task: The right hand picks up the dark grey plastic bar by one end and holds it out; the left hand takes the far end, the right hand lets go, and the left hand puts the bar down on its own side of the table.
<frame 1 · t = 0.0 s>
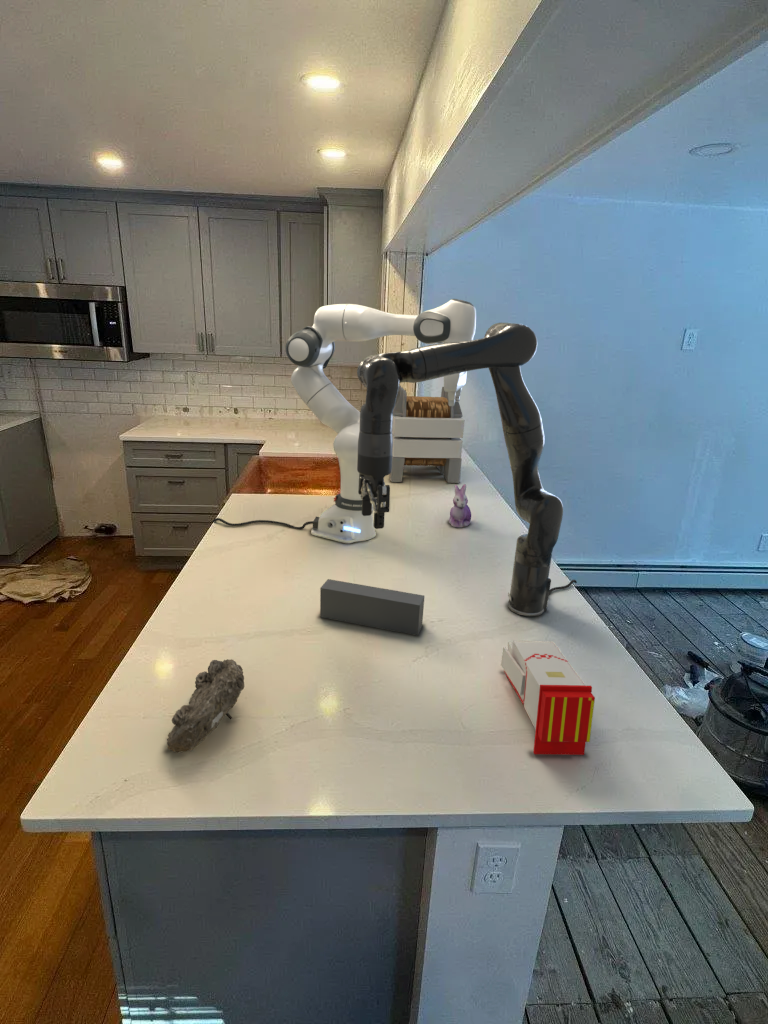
left hand: (454, 403, 174), 48 cm above the counter, tool pointing down, fingers open, 8 cm apart
right hand: (372, 521, 128), 29 cm above the counter, tool pointing down, fingers open, 8 cm apart
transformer: (419, 473, 275), on the counter
figurine character: (366, 499, 235), on the counter
figurine: (459, 523, 212), on the counter
bar: (370, 621, 144), on the counter
fossil: (212, 717, 108), on the counter
toy: (537, 705, 115), on the counter
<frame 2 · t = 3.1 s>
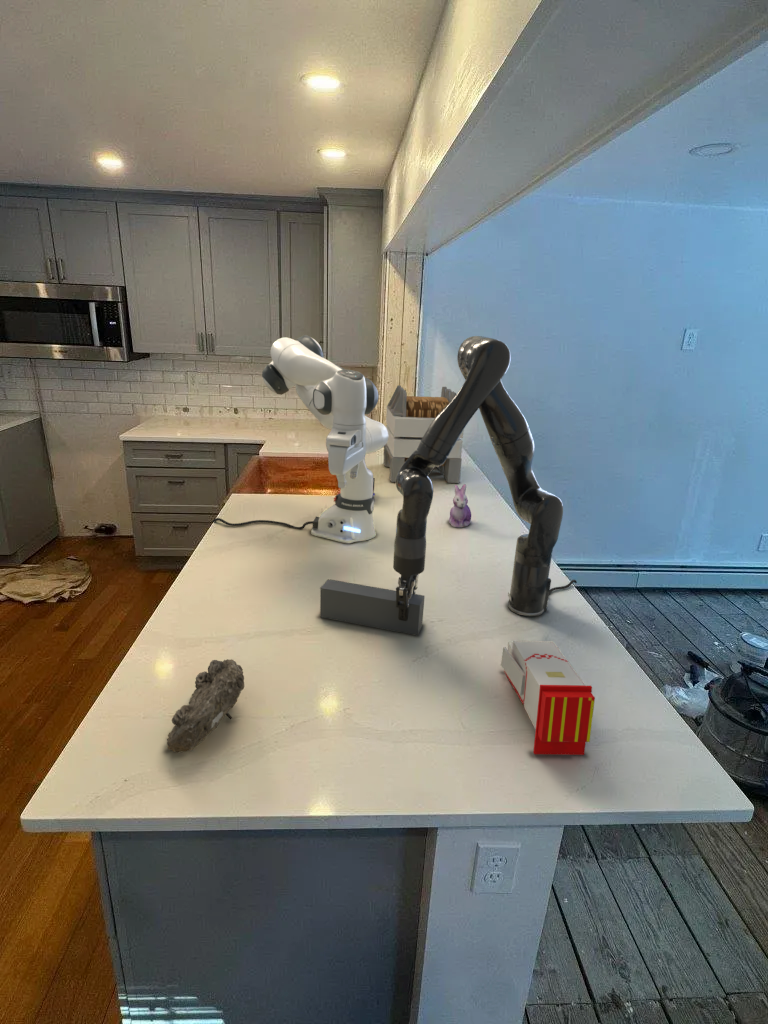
left hand: (348, 482, 156), 29 cm above the counter, tool pointing down, fingers open, 8 cm apart
right hand: (405, 613, 140), 4 cm above the counter, tool pointing down, fingers closed on bar, 5 cm apart
bar: (370, 621, 144), on the counter, touching right hand
everything else where it was.
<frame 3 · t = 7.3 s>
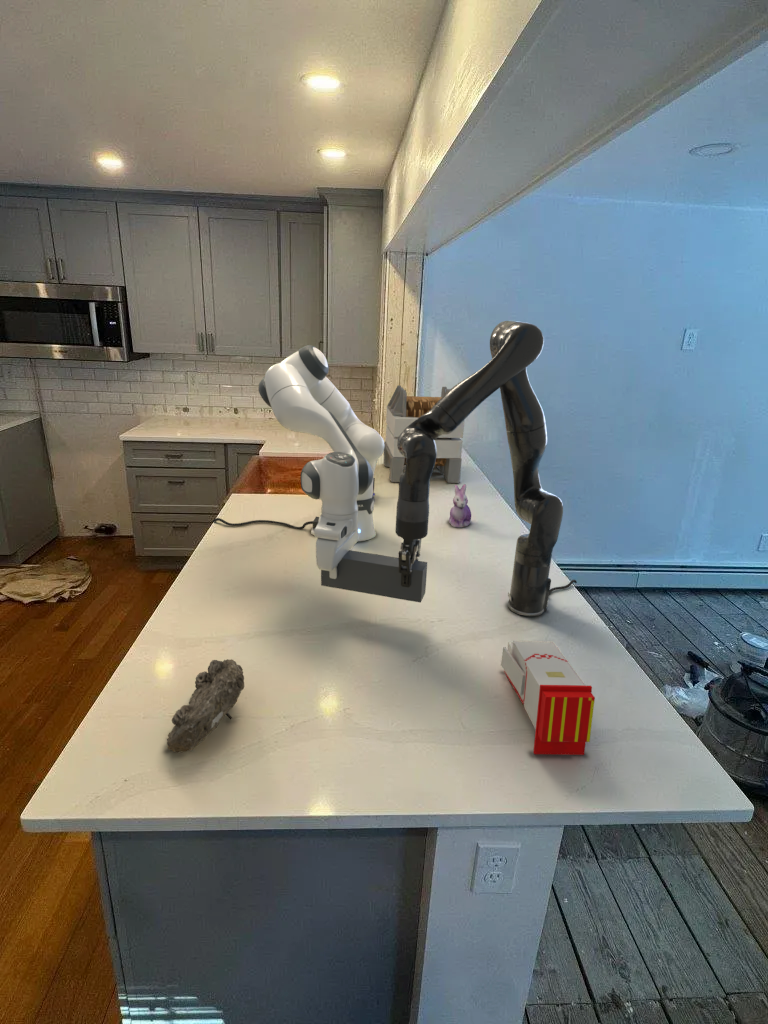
left hand: (338, 572, 142), 12 cm above the counter, tool pointing down, fingers closed on bar, 5 cm apart
right hand: (408, 580, 137), 13 cm above the counter, tool pointing down, fingers closed on bar, 5 cm apart
bar: (372, 589, 141), point 9 cm above the counter, touching left hand, right hand
everything else where it was.
when the right hand's fingers open (13 cm above the counter, at t = 8.5 s): bar stays where it is, held by the left hand.
when the left hand's fingers open (4 cm above the counter, at t = 12.9 s): bar stays where it is, on the counter.
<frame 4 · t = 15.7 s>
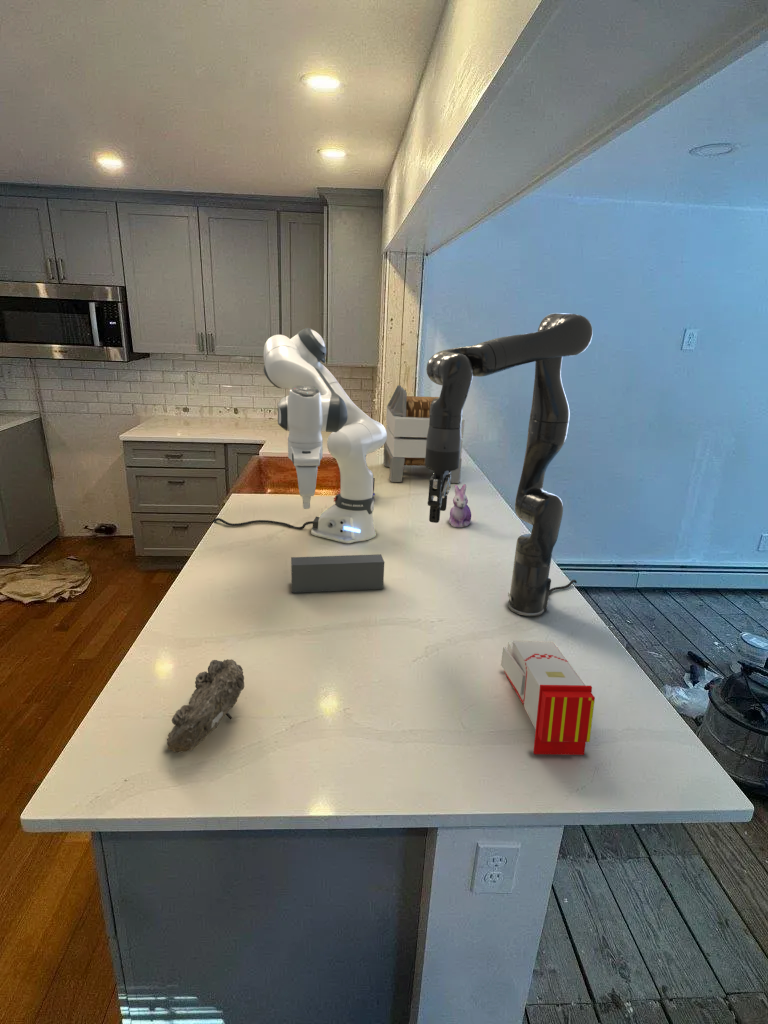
left hand: (305, 502, 150), 26 cm above the counter, tool pointing down, fingers open, 8 cm apart
right hand: (437, 515, 130), 31 cm above the counter, tool pointing down, fingers open, 8 cm apart
bar: (337, 586, 160), on the counter
everything else where it was.
at the end: bar inside the target area (8.8 cm from its centre), on the counter; the left hand is holding nothing; the right hand is holding nothing; bar at rest at the end (0.0 cm/s) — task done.
